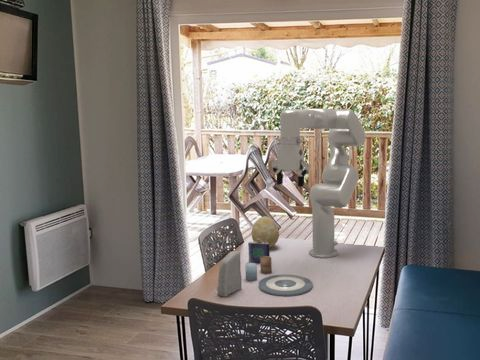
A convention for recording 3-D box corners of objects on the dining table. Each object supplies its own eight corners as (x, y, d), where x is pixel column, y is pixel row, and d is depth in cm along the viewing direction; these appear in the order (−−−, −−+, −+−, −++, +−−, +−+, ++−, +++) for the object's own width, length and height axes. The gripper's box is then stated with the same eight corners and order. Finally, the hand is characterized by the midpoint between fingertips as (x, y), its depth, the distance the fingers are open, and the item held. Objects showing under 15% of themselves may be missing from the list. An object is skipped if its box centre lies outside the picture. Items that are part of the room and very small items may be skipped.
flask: (248, 263, 224) (247, 238, 222) (250, 260, 227) (249, 236, 225) (268, 264, 221) (268, 240, 219) (270, 262, 224) (270, 238, 222)
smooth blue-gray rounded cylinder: (250, 276, 207) (249, 262, 206) (259, 278, 205) (258, 263, 204) (243, 279, 204) (243, 265, 203) (252, 282, 201) (252, 267, 200)
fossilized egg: (282, 245, 248) (282, 214, 246) (274, 253, 237) (274, 220, 234) (257, 243, 253) (256, 212, 250) (248, 250, 241) (247, 219, 239)
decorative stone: (228, 298, 186) (226, 257, 184) (214, 295, 189) (212, 255, 187) (244, 288, 195) (242, 249, 193) (230, 285, 198) (229, 247, 196)
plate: (277, 273, 210) (277, 270, 210) (322, 283, 198) (322, 280, 198) (247, 289, 194) (247, 286, 194) (294, 300, 182) (294, 297, 182)
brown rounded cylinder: (264, 269, 215) (264, 255, 214) (273, 271, 213) (273, 257, 212) (258, 272, 212) (258, 258, 211) (267, 274, 209) (267, 260, 208)
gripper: (314, 142, 203) (314, 185, 206) (276, 140, 214) (277, 182, 216) (304, 143, 197) (304, 188, 200) (266, 142, 208) (266, 184, 210)
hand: (290, 185), depth 208 cm, fingers open, 9 cm apart
